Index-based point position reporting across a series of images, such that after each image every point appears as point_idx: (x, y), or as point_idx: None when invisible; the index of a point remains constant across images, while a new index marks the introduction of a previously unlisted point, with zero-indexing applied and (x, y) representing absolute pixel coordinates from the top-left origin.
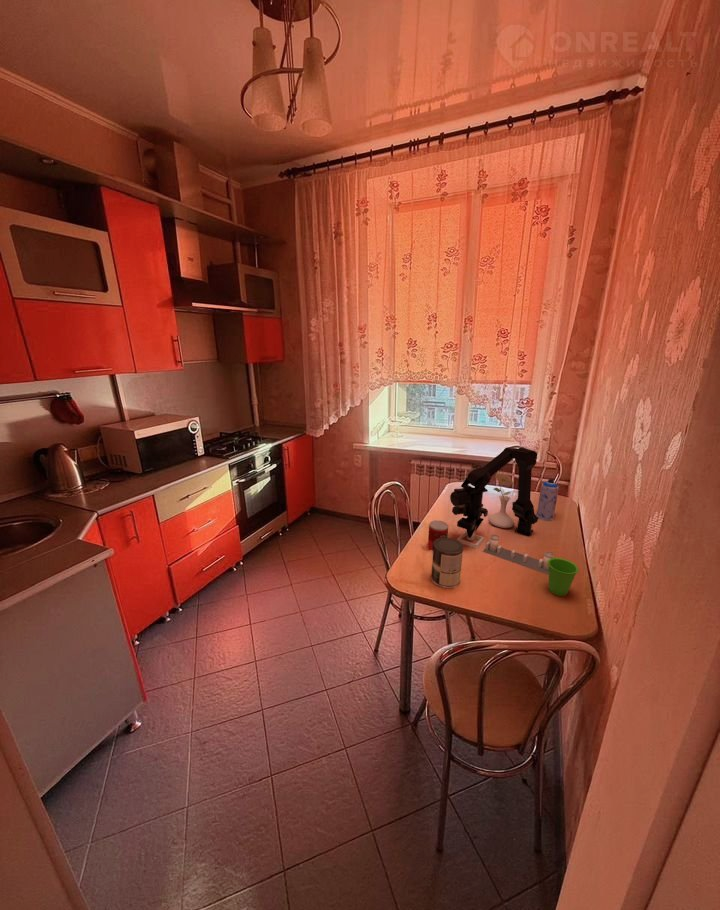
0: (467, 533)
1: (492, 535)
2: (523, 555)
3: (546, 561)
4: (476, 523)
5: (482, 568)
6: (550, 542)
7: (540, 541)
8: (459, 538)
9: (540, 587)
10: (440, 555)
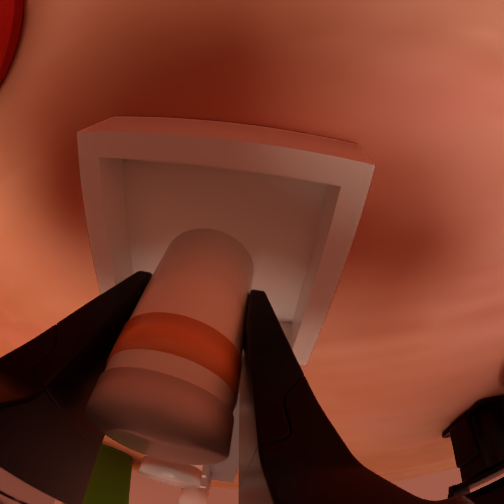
0: (97, 299)
1: (175, 477)
2: (236, 453)
3: (180, 494)
4: (243, 491)
5: (23, 330)
6: (404, 462)
7: (406, 452)
8: (101, 155)
9: (103, 439)
10: None
